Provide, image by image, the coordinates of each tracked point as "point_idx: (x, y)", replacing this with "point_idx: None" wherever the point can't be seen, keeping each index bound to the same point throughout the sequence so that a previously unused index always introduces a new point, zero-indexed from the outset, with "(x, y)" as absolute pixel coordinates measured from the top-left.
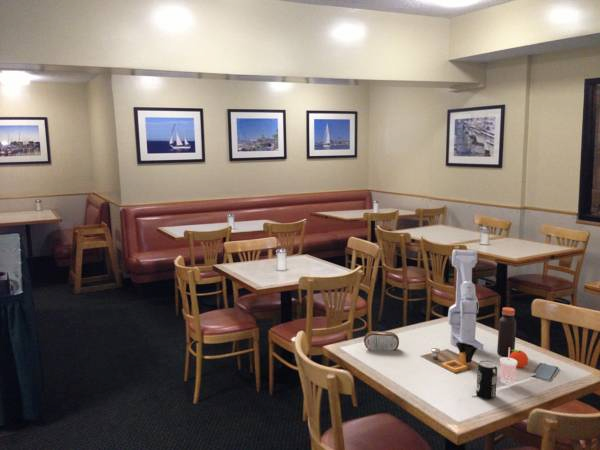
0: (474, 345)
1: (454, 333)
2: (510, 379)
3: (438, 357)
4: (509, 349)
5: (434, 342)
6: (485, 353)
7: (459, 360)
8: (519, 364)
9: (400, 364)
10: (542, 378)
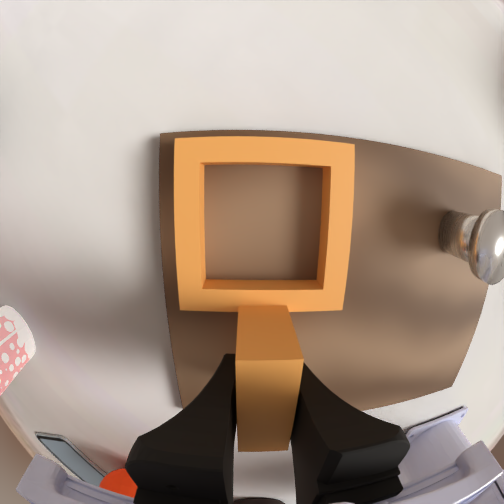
0: (72, 500)
1: (481, 492)
2: None
3: (447, 265)
4: None
5: (497, 374)
6: None
7: (277, 316)
8: (106, 476)
9: (459, 28)
10: (47, 438)
